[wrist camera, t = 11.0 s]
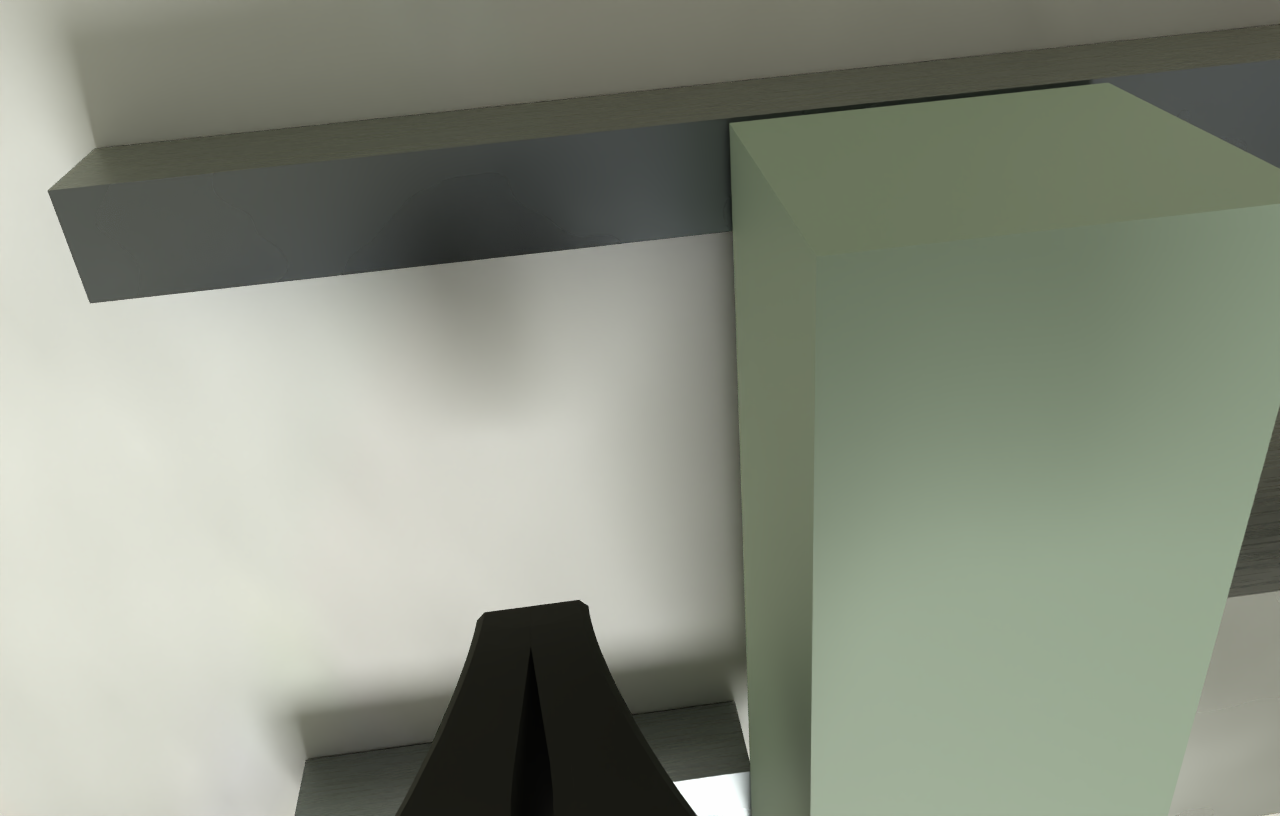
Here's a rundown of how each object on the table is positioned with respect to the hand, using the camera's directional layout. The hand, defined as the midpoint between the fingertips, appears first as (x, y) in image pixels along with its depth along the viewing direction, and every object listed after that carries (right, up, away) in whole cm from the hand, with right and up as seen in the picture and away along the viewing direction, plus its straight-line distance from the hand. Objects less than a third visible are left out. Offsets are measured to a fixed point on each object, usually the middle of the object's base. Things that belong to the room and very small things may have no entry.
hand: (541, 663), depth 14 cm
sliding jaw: (+5, +2, +3) cm, 6 cm away
